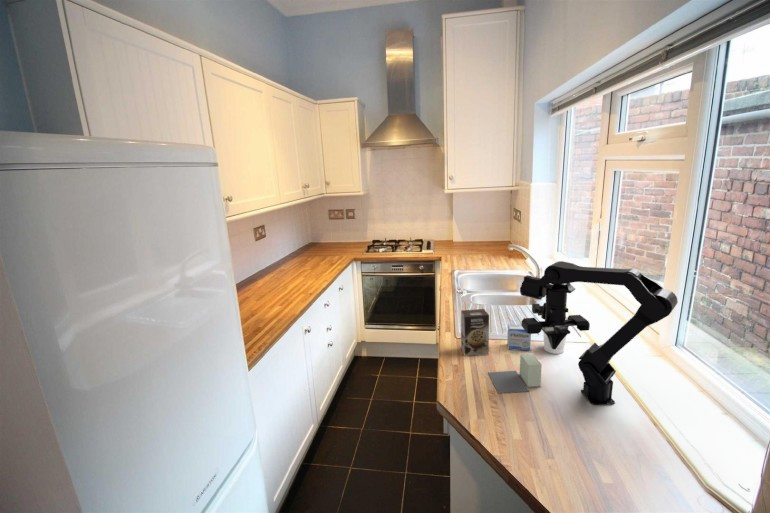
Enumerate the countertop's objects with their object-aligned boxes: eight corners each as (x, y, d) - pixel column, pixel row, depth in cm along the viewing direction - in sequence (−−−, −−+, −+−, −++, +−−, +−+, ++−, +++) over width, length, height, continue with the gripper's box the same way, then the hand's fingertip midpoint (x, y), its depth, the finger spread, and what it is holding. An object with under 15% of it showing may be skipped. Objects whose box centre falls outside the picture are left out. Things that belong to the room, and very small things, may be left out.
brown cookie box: (465, 356, 130) (464, 316, 126) (460, 348, 136) (460, 309, 132) (489, 354, 130) (489, 314, 126) (484, 346, 137) (484, 307, 132)
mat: (516, 371, 119) (516, 370, 119) (528, 391, 108) (528, 390, 108) (488, 373, 119) (488, 372, 119) (498, 393, 109) (498, 392, 109)
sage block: (531, 374, 117) (532, 352, 115) (540, 387, 110) (541, 364, 108) (519, 375, 117) (520, 353, 115) (527, 387, 110) (528, 365, 108)
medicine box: (508, 349, 133) (508, 329, 131) (507, 344, 137) (507, 323, 135) (530, 351, 131) (531, 329, 129) (528, 345, 135) (529, 324, 133)
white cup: (543, 342, 136) (544, 319, 133) (566, 346, 132) (568, 322, 129) (540, 352, 130) (542, 327, 127) (564, 357, 126) (566, 331, 123)
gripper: (573, 291, 114) (570, 335, 118) (515, 295, 115) (514, 338, 119) (592, 304, 104) (588, 352, 107) (529, 308, 104) (527, 355, 108)
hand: (553, 348), depth 111 cm, fingers closed
